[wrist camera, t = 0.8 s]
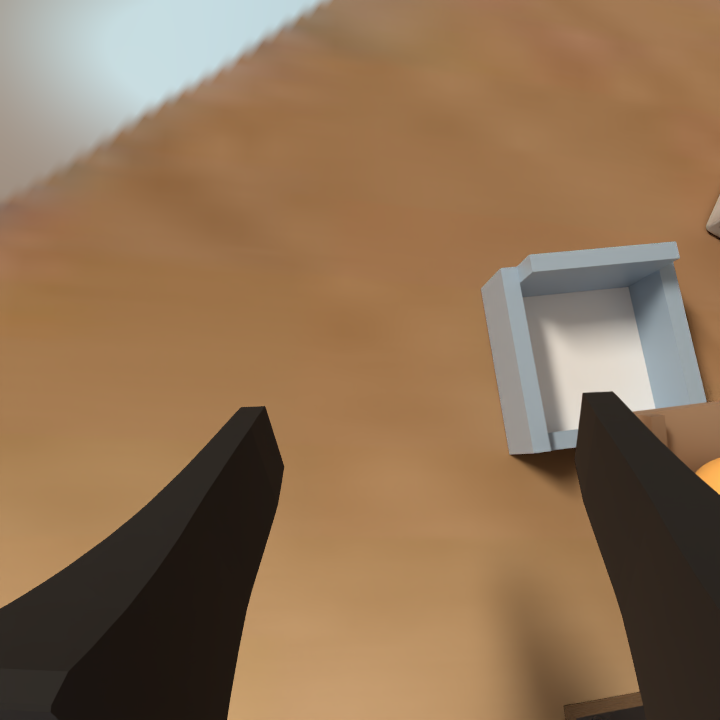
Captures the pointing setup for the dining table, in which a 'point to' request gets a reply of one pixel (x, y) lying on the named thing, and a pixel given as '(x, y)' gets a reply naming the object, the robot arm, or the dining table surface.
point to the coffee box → (714, 220)
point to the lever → (687, 431)
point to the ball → (711, 474)
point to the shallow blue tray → (587, 338)
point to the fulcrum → (608, 709)
